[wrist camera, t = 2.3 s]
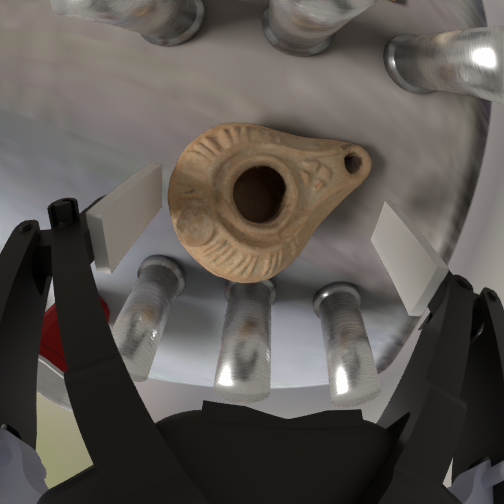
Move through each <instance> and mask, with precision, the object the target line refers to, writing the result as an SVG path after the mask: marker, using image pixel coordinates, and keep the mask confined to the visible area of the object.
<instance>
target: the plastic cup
mask: <svg viewBox="0 0 504 504" xmlns="http://www.w3.org/2000/svg"><path fill="white" fill-rule="evenodd" d="M99 297H100V296H99ZM100 300H101V304H102V307H103V310H104V313H105V316H106V318H107V321H108V322H109V312H110V311H109V309H108V307H107V304H106V303H105V302H104V301H103V300H102V298H101V297H100ZM65 371H67V365H66V361H65V357H64V352H63V347H62V342H61V337H60V332H59V326H58V320H57V313H56V305H55V303H54V304H53V305H52V306H51V307H50V308H49V309H48V310H47V311H46V312H45V313H44V319H43V325H42V332H41V340H40V348H39V358H38V370H37V392H38V393H40V394H41V395H42V396H44V397H45V398H46V399H48V400H50V401H51V402H53V403H54V404H56V405H58V406H60V407H62V408H64V409H66V410H68V411H71V412H73V410H72V407H71V403H70V400H69V397H68V393H67V390H66V386H65V382H64V376H63V375H64V372H65Z"/></svg>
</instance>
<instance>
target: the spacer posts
mask: <svg viewBox="0 0 504 504" xmlns="http://www.w3.org/2000/svg"><path fill="white" fill-rule="evenodd" d="M378 1H379V0H269V6H268V7H267V9H266V10H265V12H264V15H263V19H262V25H263V32H264V34H265V37H266V38H267V40H268V41H269V43H270V44H271V45H272V46H273V47H275V48H276V49H278V50H279V51H281V52H283V53H285V54H288V55H292V56H299V57H304V56H311V55H314V54H317V53H319V52H321V51H322V50H324V49H325V48H326V47H327V46H329V44H330V43H331V42H332V40H333V38H334V36H335V32H336V31H337V30H339V29H340V28H341V27H343V26H344V25H345V24H346V23H348V22H349V21H351V20H352V19H353V18H355V17H356V16H357V15H359V14H360V13H362V12H363V11H364V10H366V9H367V8H369V7H370V6H372V5H373V4H375V3H376V2H378ZM50 3H51V6H52V8H53V10H54V11H55V12H56V13H58V14H60V15H65V16H72V17H77V18H83V19H88V20H93V21H97V22H101V23H106V24H110V25H114V26H117V27H121V28H125V29H128V30H131V31H135V32H138V33H140V34H141V35H142V37H143V38H144V39H145V40H147V41H148V42H150V43H153V44H156V45H159V46H167V47H169V46H176V45H179V44H182V43H184V42H186V41H188V40H190V39H191V38H193V37H194V36H195V35H196V34H197V33H198V32H199V31H200V29H201V28H202V26H203V25H204V22H205V19H206V7H205V5H204V3H203V1H202V0H50ZM384 63H385V67H386V70H387V72H388V74H389V75H390V77H391V78H392V80H393V81H394V82H395V83H396V84H397V85H398V86H400V87H401V88H403V89H404V90H406V91H409V92H413V93H420V94H425V93H429V92H432V91H433V90H440V91H446V92H452V93H458V94H463V95H468V96H473V97H477V98H482V99H486V100H490V101H494V102H497V103H501V104H504V27H480V28H469V29H460V30H452V31H446V32H440V33H434V34H429V35H424V36H417V35H414V34H402V35H399V36H396V37H394V38H392V39H391V40H389V42H388V43H387V44H386V46H385V49H384ZM185 283H186V275H185V272H184V270H183V269H182V267H181V266H180V265H179V264H178V263H177V262H176V261H174V260H173V259H171V258H169V257H166V256H162V255H152V256H149V257H147V258H146V259H145V260H144V261H143V262H142V264H141V265H140V267H139V269H138V280H137V281H136V283H135V285H134V287H133V289H132V291H131V292H130V294H129V296H128V298H127V300H126V302H125V304H124V306H123V307H122V309H121V311H120V313H119V315H118V317H117V319H116V321H115V323H114V325H113V327H112V329H111V332H112V335H113V337H114V340H115V343H116V345H117V348H118V350H119V352H120V354H121V356H122V359H123V361H124V363H125V366H126V368H127V370H128V372H129V374H130V377H131V379H132V381H135V382H141V381H145V380H146V379H147V378H148V374H149V371H150V368H151V365H152V362H153V359H154V356H155V353H156V350H157V347H158V344H159V341H160V339H161V336H162V333H163V330H164V327H165V324H166V322H167V319H168V316H169V313H170V311H171V308H172V305H173V302H174V300H175V297H177V296H179V295H180V294H181V293H182V291H183V289H184V286H185ZM225 298H226V300H227V302H228V303H227V309H226V315H225V320H224V326H223V332H222V338H221V344H220V350H219V356H218V362H217V369H216V375H215V381H214V387H213V390H214V392H215V393H216V394H217V395H218V396H220V397H221V398H224V399H226V400H229V401H233V402H240V403H253V402H258V401H261V400H264V399H266V398H267V397H268V396H269V395H270V371H271V306H272V304H273V303H274V301H275V299H276V285H275V283H274V281H273V279H272V278H270V279H267V280H263V281H259V282H255V283H239V282H234V281H230V280H227V283H226V288H225ZM313 305H314V311H315V314H316V315H317V317H318V318H320V320H321V327H322V333H323V340H324V347H325V354H326V361H327V368H328V376H329V384H330V391H331V401H332V404H334V405H335V406H339V407H350V406H356V405H360V404H363V403H366V402H368V401H370V400H372V399H374V398H375V397H377V396H378V395H379V393H380V392H381V387H380V383H379V378H378V374H377V370H376V366H375V362H374V358H373V354H372V351H371V347H370V343H369V340H368V336H367V332H366V329H365V326H364V322H363V319H362V315H361V312H360V309H359V308H360V305H361V298H360V295H359V292H358V289H357V288H356V287H355V286H354V285H352V284H350V283H347V282H335V283H331V284H328V285H326V286H324V287H323V288H321V289H320V290H319V291H318V292H317V294H316V295H315V297H314V301H313Z"/></svg>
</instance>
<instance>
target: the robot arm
mask: <svg viewBox="0 0 504 504" xmlns="http://www.w3.org/2000/svg"><path fill="white" fill-rule="evenodd" d="M161 208H162V164H159V163H149V164H148V165H146V166H145V167H143V168H142V169H141V170H139V171H138V172H137V173H135V174H134V175H132V176H131V177H130V178H128V179H127V180H126V181H124V182H123V183H122V184H120V185H119V186H118V187H117V188H115V189H114V190H113V191H111V192H110V193H109V194H108V195H105V196H103V197H100V198H98V199H97V200H96V201H94V202H93V203H92V204H91V205H90V206H88V208H86V209H85V210H84V211H82V212H81V213H80V214H79V209H78V202H77V200H76V199H74V198H63V199H60V200H57V201H55V202H53V203H51V204H50V205H49V206H48V208H47V209H48V214H49V219H50V224H51V229H49V230H40V227H39V223H38V221H36V220H28V221H27V220H26V221H23V222H21V223H20V224H19V225H18V226H16V228H15V229H14V230H13V232H12V233H11V235H10V237H9V239H8V240H7V242H6V244H5V246H4V248H3V250H2V252H1V253H0V504H504V309H503V306H502V304H501V301H500V299H499V297H498V296H497V293H495V291H493V290H491V289H489V288H487V287H486V288H483V290H482V291H481V293H480V295H478V294H476V293H474V292H473V287H472V285H471V284H470V283H469V282H468V281H467V279H465V278H464V277H462V276H460V275H453V274H452V273H451V272H450V270H449V268H448V267H447V265H446V264H445V263H444V261H443V260H442V259H441V257H440V256H439V255H438V253H437V252H436V251H435V250H434V248H433V247H432V246H431V245H430V243H429V242H428V241H427V240H426V239H425V237H424V236H423V235H422V234H421V233H420V231H419V230H418V229H417V228H416V227H415V225H414V224H413V223H412V222H411V221H410V220H409V219H408V217H407V216H406V215H405V214H404V213H403V212H402V211H401V210H400V209H399V208H398V206H397V205H396V204H393V203H390V202H386V201H385V202H384V205H383V208H382V211H381V214H380V216H379V219H378V222H377V225H376V227H375V230H374V233H373V235H372V238H371V242H372V244H373V245H374V247H375V249H376V251H377V253H378V254H379V256H380V258H381V260H382V262H383V264H384V266H385V267H386V269H387V271H388V273H389V275H390V277H391V279H392V281H393V283H394V285H395V287H396V289H397V291H398V293H399V295H400V297H401V299H402V301H403V303H404V306H405V308H406V310H407V312H408V314H409V315H410V316H421V315H422V314H423V312H424V311H425V309H426V308H427V306H428V308H429V310H430V313H429V315H428V316H427V318H426V319H425V321H424V322H423V324H422V325H421V326H420V328H419V329H418V330H421V329H422V331H421V334H420V336H419V339H418V341H417V344H416V346H415V349H414V351H413V354H412V356H411V358H410V360H409V363H408V365H407V367H406V369H405V371H404V374H403V376H402V378H401V380H400V382H399V384H398V386H397V388H396V390H395V392H394V394H393V395H392V397H391V399H390V401H389V403H388V405H387V407H386V408H385V410H384V412H383V414H382V416H381V417H380V419H379V420H378V422H377V423H376V424H375V423H373V422H370V421H367V420H363V417H362V411H361V409H357V410H328V411H323V412H319V413H315V414H311V415H307V416H302V417H297V418H292V419H284V418H281V417H277V416H274V415H271V414H267V413H264V412H261V411H258V410H255V409H252V408H249V407H246V406H239V405H230V404H224V403H217V402H211V401H205V400H204V401H203V406H202V410H192V411H187V412H181V413H178V414H174V415H171V416H169V417H166V418H164V419H162V420H161V421H158V422H157V423H154V422H153V420H152V418H151V416H150V414H149V413H148V411H147V409H146V407H145V405H144V403H143V401H142V399H141V397H140V395H139V394H138V391H137V389H136V387H135V385H134V383H133V381H132V379H131V377H130V374H129V372H128V370H127V368H126V366H125V363H124V361H123V359H122V356H121V354H120V352H119V350H118V348H117V345H116V343H115V340H114V337H113V335H112V332H111V330H110V327H109V324H108V321H107V318H106V316H105V313H104V310H103V307H102V304H101V300H100V297H99V294H98V291H97V287H96V284H95V281H94V277H93V273H92V270H91V266H90V264H91V263H92V262H93V261H95V265H96V269H97V271H100V272H104V273H109V274H112V273H113V271H114V270H115V268H116V267H117V266H118V264H119V263H120V261H121V260H122V258H123V257H124V256H125V254H126V253H127V252H128V250H129V249H130V248H131V246H132V245H133V243H134V242H135V241H136V239H137V238H138V237H139V235H140V234H141V233H142V232H143V230H144V229H145V228H146V226H147V225H148V224H149V223H150V221H151V220H152V219H153V218H154V216H155V215H156V214H157V213H158V211H159V210H160V209H161ZM52 276H53V287H54V297H55V305H56V313H57V320H58V326H59V332H60V337H61V342H62V347H63V352H64V357H65V361H66V365H67V371H65V372H64V375H63V376H64V382H65V386H66V390H67V393H68V397H69V400H70V403H71V407H72V410H73V413H74V416H75V419H76V422H77V425H78V427H79V430H80V433H81V435H82V438H83V440H84V443H85V445H86V448H87V450H88V452H89V455H90V457H91V459H92V462H93V465H92V466H90V467H88V468H87V469H85V470H83V471H82V472H80V473H78V474H76V475H75V476H73V477H71V478H69V479H68V480H66V481H64V482H62V483H60V484H58V485H57V486H55V487H53V488H51V489H48V487H47V486H46V484H45V481H44V479H45V478H46V469H45V467H44V466H43V464H42V463H41V460H40V457H39V456H38V454H37V452H36V451H35V450H36V437H37V416H36V415H37V414H36V392H37V370H38V358H39V348H40V340H41V332H42V325H43V319H44V313H45V308H46V303H47V298H48V293H49V289H50V284H51V280H52ZM482 329H483V330H482ZM481 331H482V332H481ZM480 332H481V333H480ZM479 333H480V334H479ZM452 458H453V464H452V486H451V487H448V488H446V487H445V486H444V485H443V484H442V483H443V481H444V479H445V476H446V474H447V471H448V469H449V466H450V464H451V461H452Z"/></svg>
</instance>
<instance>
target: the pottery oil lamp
mask: <svg viewBox="0 0 504 504" xmlns="http://www.w3.org/2000/svg"><path fill="white" fill-rule="evenodd" d="M371 167H372V161H371V158H370V156H369V154H368V153H367V151H366V150H365V149H364V148H362V147H361V146H359V145H357V144H353V143H347V142H343V141H339V140H331V139H319V138H308V137H300V136H296V135H292V134H288V133H284V132H281V131H278V130H274V129H270V128H267V127H263V126H260V125H256V124H249V123H224V124H220V125H217V126H215V127H212V128H210V129H209V130H207V131H205V132H203V133H202V134H201V135H199V136H198V137H197V138H196V139H195V140H193V141H192V142H191V143H190V144H189V145H188V146H187V147H186V148H185V150H184V151H183V153H182V154H181V156H180V157H179V159H178V161H177V162H176V165H175V168H174V170H173V172H172V175H171V178H170V183H169V189H168V205H169V210H170V215H171V219H172V222H173V226H174V230H175V232H176V235H177V237H178V239H179V240H180V242H181V244H182V245H183V246H184V248H185V249H186V250H187V251H188V253H189V254H190V255H191V256H192V257H193V258H194V259H195V260H196V261H197V262H198V263H200V264H201V265H202V266H203V267H204V268H206V269H207V270H208V271H210V272H211V273H212V274H214V275H216V276H219V277H222V278H225V279H228V280H230V281H234V282H239V283H255V282H259V281H263V280H267V279H270V278H272V277H274V276H275V275H277V274H278V273H280V272H281V271H282V270H283V269H285V268H286V267H287V266H288V265H290V264H291V263H292V262H293V261H294V260H295V258H296V257H297V256H298V255H299V254H300V252H301V251H302V249H303V248H304V247H305V245H306V244H307V242H308V240H309V239H310V237H311V236H312V234H313V233H314V231H315V230H316V228H317V227H318V226H319V225H320V224H321V223H322V221H323V220H324V219H325V218H326V217H327V216H328V215H329V214H330V213H331V212H332V211H333V209H334V208H335V207H336V206H337V205H338V204H339V203H340V202H341V201H342V200H343V199H344V198H345V197H346V196H347V195H349V194H350V193H351V192H352V191H353V190H355V189H356V188H357V187H358V186H359V185H361V184H362V182H363V181H364V180H365V179H366V178H367V177H368V175H369V173H370V171H371Z"/></svg>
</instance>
